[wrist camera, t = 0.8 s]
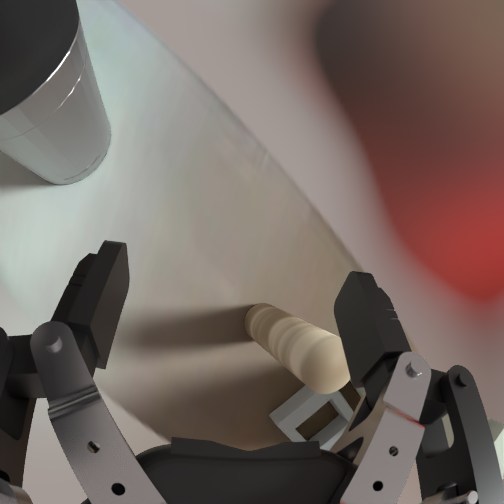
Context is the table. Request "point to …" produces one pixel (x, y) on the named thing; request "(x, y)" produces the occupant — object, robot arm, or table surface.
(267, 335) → the peg
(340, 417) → the socket stand
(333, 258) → the table surface
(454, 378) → the robot arm
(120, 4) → the table surface
